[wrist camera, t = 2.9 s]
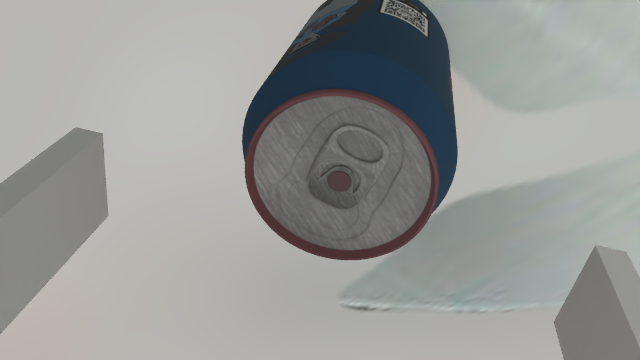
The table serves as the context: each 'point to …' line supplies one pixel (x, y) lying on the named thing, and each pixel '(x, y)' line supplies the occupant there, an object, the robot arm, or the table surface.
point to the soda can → (354, 130)
